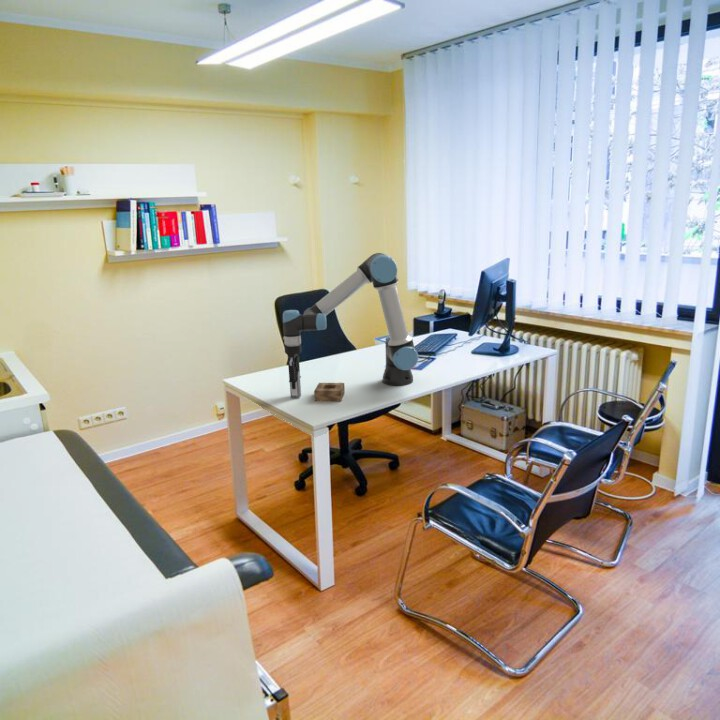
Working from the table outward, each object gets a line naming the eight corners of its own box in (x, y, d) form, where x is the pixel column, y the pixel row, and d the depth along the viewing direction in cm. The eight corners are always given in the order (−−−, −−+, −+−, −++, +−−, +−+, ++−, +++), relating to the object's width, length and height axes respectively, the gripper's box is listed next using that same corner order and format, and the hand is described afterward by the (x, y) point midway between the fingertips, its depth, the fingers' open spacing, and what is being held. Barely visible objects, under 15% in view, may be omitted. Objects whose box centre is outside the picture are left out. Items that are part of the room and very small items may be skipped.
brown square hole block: (344, 393, 275) (344, 382, 273) (341, 401, 263) (340, 390, 262) (319, 392, 276) (318, 382, 275) (314, 401, 265) (314, 390, 263)
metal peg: (301, 395, 273) (299, 370, 270) (299, 398, 269) (297, 373, 266) (292, 395, 274) (291, 370, 271) (290, 398, 270) (289, 373, 267)
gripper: (288, 340, 274) (291, 387, 280) (280, 349, 257) (283, 399, 263) (304, 340, 273) (307, 387, 279) (296, 349, 256) (299, 399, 262)
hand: (295, 393), depth 271 cm, fingers closed on metal peg, 4 cm apart
